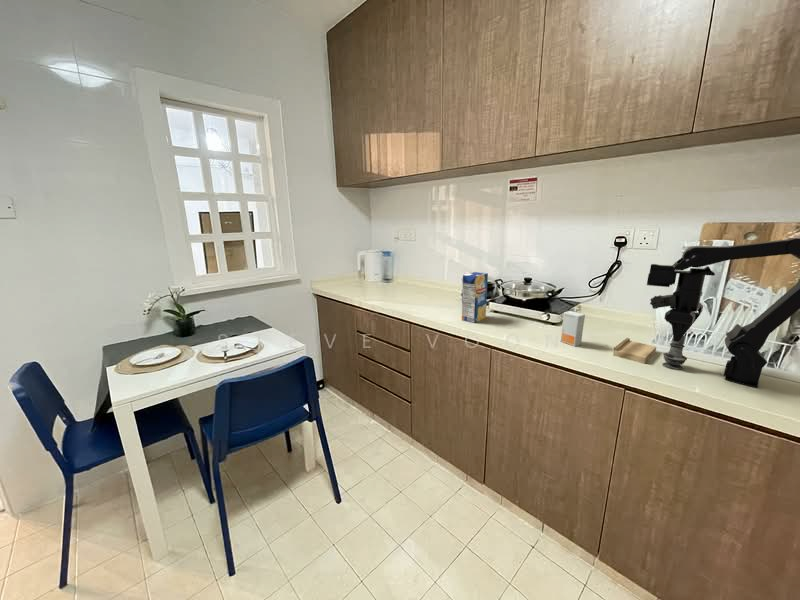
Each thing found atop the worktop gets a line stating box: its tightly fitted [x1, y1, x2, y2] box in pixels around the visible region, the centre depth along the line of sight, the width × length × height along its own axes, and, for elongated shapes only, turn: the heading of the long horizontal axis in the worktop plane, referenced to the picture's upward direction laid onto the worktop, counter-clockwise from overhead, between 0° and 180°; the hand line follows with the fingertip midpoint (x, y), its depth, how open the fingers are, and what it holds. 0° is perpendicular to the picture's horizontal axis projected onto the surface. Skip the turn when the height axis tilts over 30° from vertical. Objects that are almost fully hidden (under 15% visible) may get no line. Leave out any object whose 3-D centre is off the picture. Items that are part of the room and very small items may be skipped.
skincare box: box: [559, 310, 586, 347], centre depth 120 cm, size 6×4×12 cm
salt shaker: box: [662, 334, 688, 371], centre depth 99 cm, size 6×6×12 cm
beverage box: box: [461, 271, 489, 324], centre depth 150 cm, size 7×11×22 cm, turn 137°
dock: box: [612, 337, 657, 364], centre depth 111 cm, size 9×14×3 cm, turn 130°
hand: (679, 337), depth 98 cm, fingers open, 9 cm apart
